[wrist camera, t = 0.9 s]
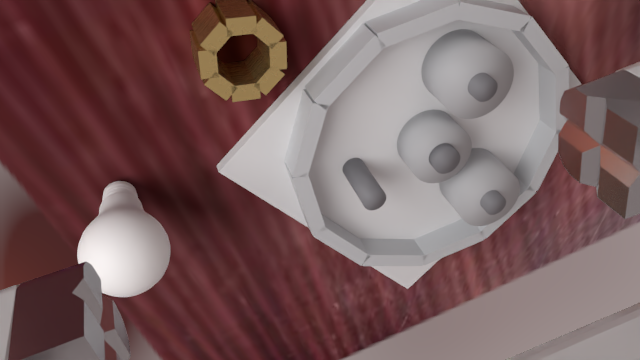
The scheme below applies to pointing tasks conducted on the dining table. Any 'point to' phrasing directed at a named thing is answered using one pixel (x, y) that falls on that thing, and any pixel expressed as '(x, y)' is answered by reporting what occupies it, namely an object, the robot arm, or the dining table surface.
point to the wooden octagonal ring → (244, 75)
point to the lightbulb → (124, 243)
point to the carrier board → (378, 134)
